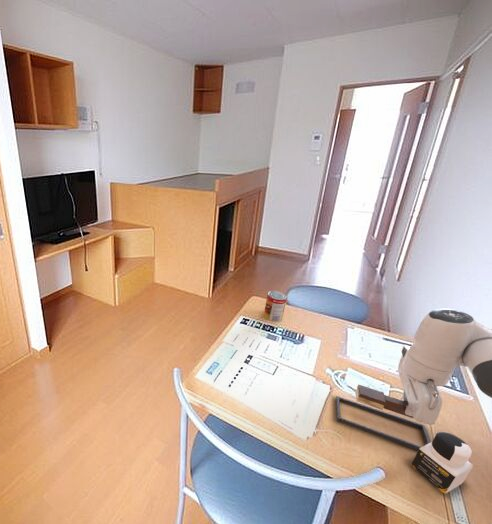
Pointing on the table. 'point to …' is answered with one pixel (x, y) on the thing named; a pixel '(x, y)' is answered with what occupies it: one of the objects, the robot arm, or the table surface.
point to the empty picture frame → (384, 416)
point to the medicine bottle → (444, 461)
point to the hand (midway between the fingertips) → (406, 408)
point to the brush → (380, 400)
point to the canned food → (275, 306)
